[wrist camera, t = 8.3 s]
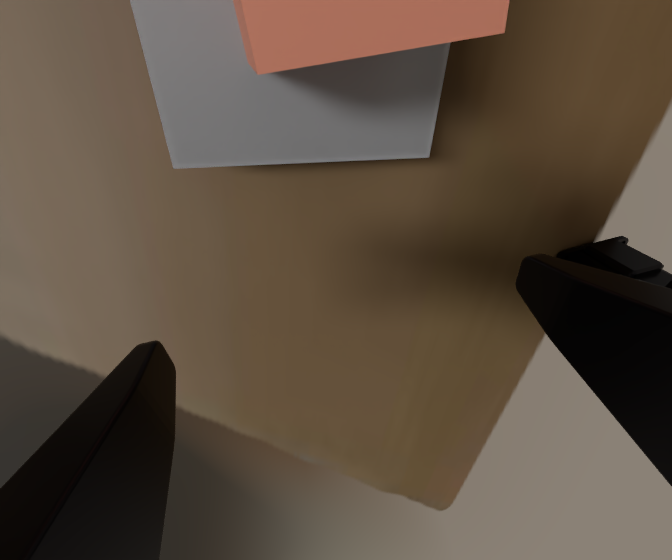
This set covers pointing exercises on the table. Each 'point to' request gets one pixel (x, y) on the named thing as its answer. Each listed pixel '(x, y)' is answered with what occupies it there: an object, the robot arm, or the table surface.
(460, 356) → the table surface
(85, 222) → the table surface
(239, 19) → the red cube
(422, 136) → the grey box
